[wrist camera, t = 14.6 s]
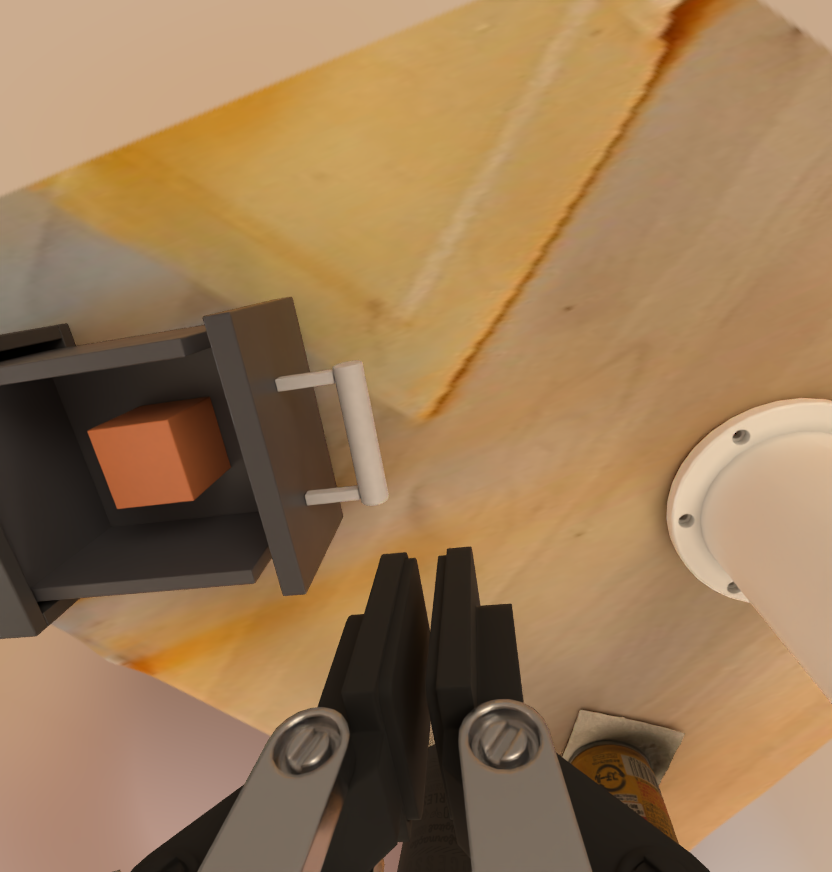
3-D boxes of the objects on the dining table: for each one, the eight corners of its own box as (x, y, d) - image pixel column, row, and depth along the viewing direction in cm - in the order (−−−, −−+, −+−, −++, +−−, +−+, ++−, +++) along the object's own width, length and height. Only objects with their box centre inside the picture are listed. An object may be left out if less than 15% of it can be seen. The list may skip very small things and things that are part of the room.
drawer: (368, 283, 27) (330, 295, 20) (410, 510, 31) (391, 588, 24) (41, 338, 30) (-98, 366, 23) (119, 539, 34) (24, 617, 27)
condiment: (549, 790, 39) (581, 1006, 28) (579, 707, 36) (629, 911, 25) (645, 810, 39) (716, 1037, 28) (683, 729, 36) (780, 945, 25)
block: (210, 396, 29) (167, 419, 25) (231, 467, 30) (194, 501, 26) (139, 405, 30) (85, 430, 25) (163, 475, 31) (116, 509, 27)
